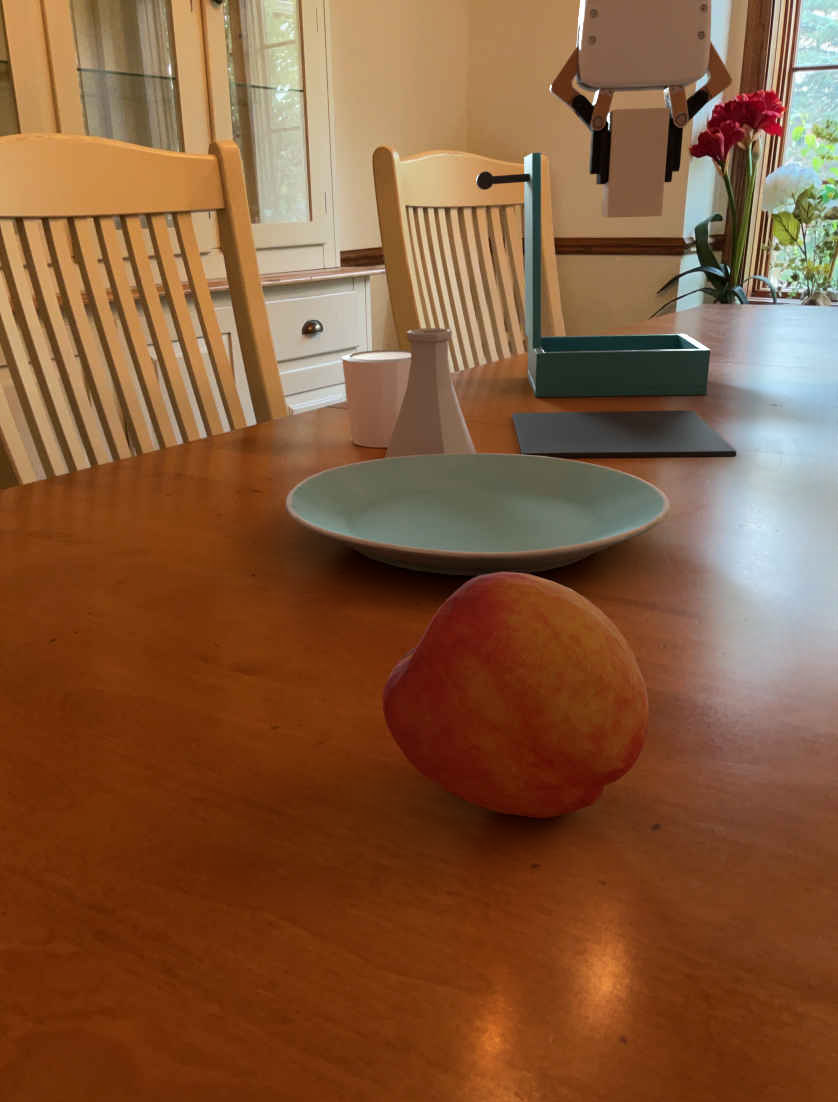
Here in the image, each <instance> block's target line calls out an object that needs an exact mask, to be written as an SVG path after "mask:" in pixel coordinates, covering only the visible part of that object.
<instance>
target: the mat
mask: <svg viewBox="0 0 838 1102" xmlns="http://www.w3.org/2000/svg"><path fill="white" fill-rule="evenodd" d="M512 420H513V424H514V429H515V433H516V437H517V441H518V442H517V443H518V446H519V449H520V455H534V456H545V457H553V458H561V459H575V458H576V459H577V458H578V459H579V458H582V459H587V458H590V459H592V458H673V457H674V458H675V457H676V458H677V457H678V458H679V457H680V458H683V457H685V458H687V457H693V458H694V457H736V456H737V450H736V449H735V448H734V447H733V446H732V445H731V444H730V443H729V442H728V441H726V440H725V439H724V438H723V437H722V436H721V435H719V434H718V432H717V431H715V430H714V429H713V428H712V426H711V425H709V424H708V423H707V422H706V421H705V420H703V418H702V417H700V416H699V414H697V413H696V412H695V411H694V410H691V409H690V410H628V411H626V410H625V411H561V412H560V411H556V412H555V411H554V412H548V411H547V412H546V411H545V412H512Z"/></svg>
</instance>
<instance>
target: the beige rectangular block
mask: <svg viewBox="0 0 838 1102" xmlns="http://www.w3.org/2000/svg"><path fill="white" fill-rule="evenodd" d="M669 115H670V108H666V107H647V108H622V109H613V110H611V111H609V113H608V117H607V120H606V121H607V122H608V123H609V128H608V130H609V132H611V147H610V164H609V180H608V182H607V183H606V184H602V186H603V188H602V203H601V204H602V206H601V217H603V218H608V219H609V218H639V217H640V218H642V217H645V218H646V217H662V216H663V208H664V207H663V205H664V192H665V182H664V180H665V167H666V154H667V141H668V128H669Z"/></svg>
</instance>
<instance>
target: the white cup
mask: <svg viewBox="0 0 838 1102" xmlns="http://www.w3.org/2000/svg"><path fill="white" fill-rule="evenodd" d="M341 360H342V370H343V378H344V386H345V392H346V393H345V394H346V402H347V410H348V418H349V425H350V433H351V441H352V443H353V444H354V445H357V446H360V447H367V448H379V449H380V448H381V449H382V448H388V446H389V443H390V440H391V437H392V434H393V431H394V428H395V425H396V422H397V419H398V415H399V412H400V409H401V406H402V402H403V399H404V396H405V392H406V389H407V384H408V378H409V371H410V365H411V350H406V349H405V350H404V349H376V350H375V349H374V350H364V351H359V352H354V353H349V354H345V355H342V356H341Z"/></svg>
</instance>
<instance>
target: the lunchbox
mask: <svg viewBox="0 0 838 1102" xmlns="http://www.w3.org/2000/svg"><path fill="white" fill-rule="evenodd" d="M527 342H528V343H527V345H528V346H527V352H528V353H527V374H526V375H527V376H526V377H527V379H528V382H529V384H530V388H531V390H532V393H533V395H534V397H535V398H589V397H592V398H593V397H595V398H596V397H597V398H598V397H649V396H650V397H651V396H652V397H653V396H654V397H657V396H661V397H662V396H706V395H707V392H708V380H709V371H710V359H711V349H710V348H708V347H706V346H705V345H703V344H702V343H700V342H698V341H697V340H695V339H694V338H692V337H690V336H689V335H687V334H685V333H653V334H652V333H651V334H650V333H649V334H608V335H607V334H604V335H603V334H602V335H599V334H597V335H558V336H557V335H556V336H554V335H553V336H551V335H550V336H541V348H534V349H533V348H532V346H531V344H530V342H529V340H528V341H527Z"/></svg>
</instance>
